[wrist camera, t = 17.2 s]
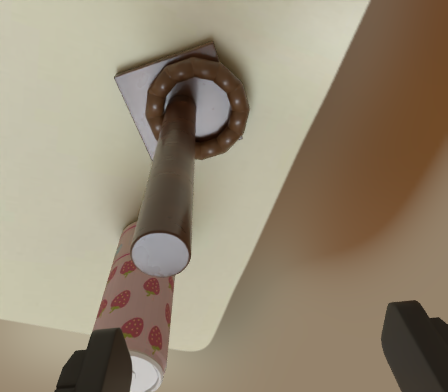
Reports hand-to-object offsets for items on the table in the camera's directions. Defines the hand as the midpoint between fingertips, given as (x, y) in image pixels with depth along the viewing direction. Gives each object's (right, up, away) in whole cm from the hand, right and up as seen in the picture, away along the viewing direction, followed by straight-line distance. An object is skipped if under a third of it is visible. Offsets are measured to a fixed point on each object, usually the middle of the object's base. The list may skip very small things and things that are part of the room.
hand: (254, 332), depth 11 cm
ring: (-3, +11, +18) cm, 21 cm away
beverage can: (-8, 0, +27) cm, 28 cm away
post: (-4, +12, +20) cm, 23 cm away
